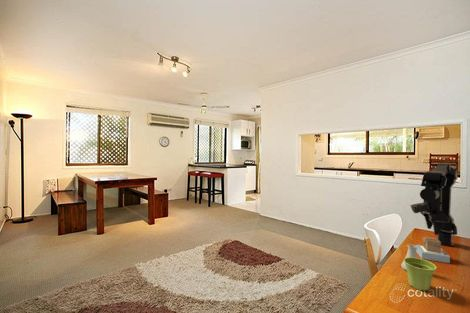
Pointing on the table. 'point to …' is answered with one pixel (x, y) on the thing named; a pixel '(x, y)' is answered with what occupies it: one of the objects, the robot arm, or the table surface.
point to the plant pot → (419, 273)
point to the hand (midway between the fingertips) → (432, 231)
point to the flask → (410, 254)
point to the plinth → (432, 255)
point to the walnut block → (432, 244)
